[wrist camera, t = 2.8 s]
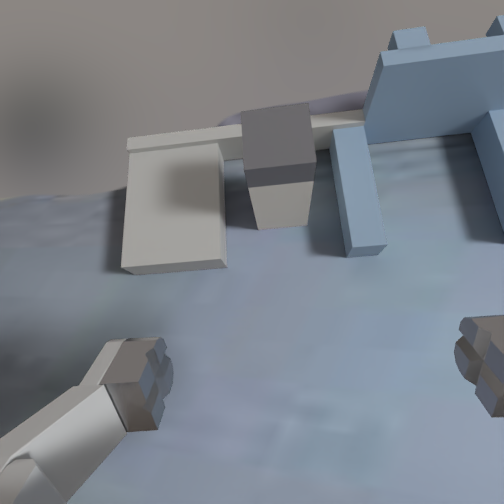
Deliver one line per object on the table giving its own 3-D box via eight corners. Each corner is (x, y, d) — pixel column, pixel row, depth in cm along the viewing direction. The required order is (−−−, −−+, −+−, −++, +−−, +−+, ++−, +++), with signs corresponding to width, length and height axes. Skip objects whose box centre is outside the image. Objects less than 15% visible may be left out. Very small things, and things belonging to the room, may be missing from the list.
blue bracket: (346, 257, 24) (372, 214, 17) (325, 122, 28) (338, 38, 21) (524, 242, 23) (638, 189, 16) (476, 104, 27) (549, 8, 20)
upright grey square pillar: (258, 229, 26) (243, 170, 17) (255, 187, 27) (240, 111, 19) (307, 225, 26) (316, 161, 17) (301, 182, 27) (308, 103, 18)
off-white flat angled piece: (136, 275, 26) (117, 265, 23) (143, 158, 29) (127, 137, 26) (377, 254, 24) (390, 242, 21) (354, 134, 28) (362, 109, 25)
